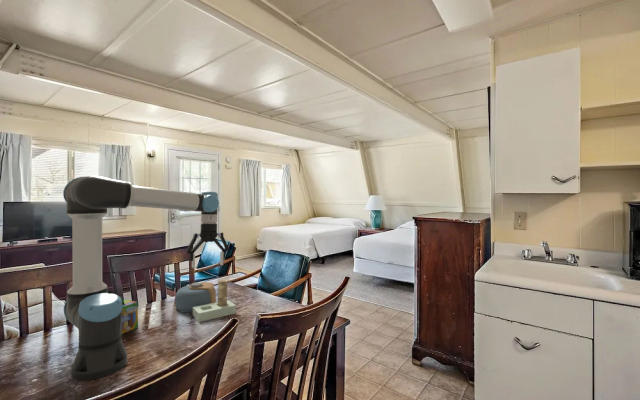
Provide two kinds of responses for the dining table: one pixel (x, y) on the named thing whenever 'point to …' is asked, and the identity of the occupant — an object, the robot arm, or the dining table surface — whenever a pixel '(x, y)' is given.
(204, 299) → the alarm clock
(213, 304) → the socket block
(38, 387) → the dining table surface
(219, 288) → the peg
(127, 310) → the chalk box
